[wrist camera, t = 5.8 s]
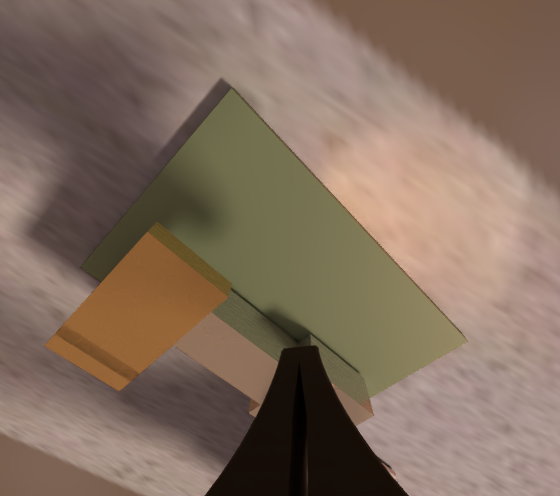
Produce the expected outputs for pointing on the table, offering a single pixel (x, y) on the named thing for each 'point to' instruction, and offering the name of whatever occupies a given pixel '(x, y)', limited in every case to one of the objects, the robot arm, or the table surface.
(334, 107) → the table surface
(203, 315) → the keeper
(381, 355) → the plate
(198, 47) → the table surface
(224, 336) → the beige rectangular block
